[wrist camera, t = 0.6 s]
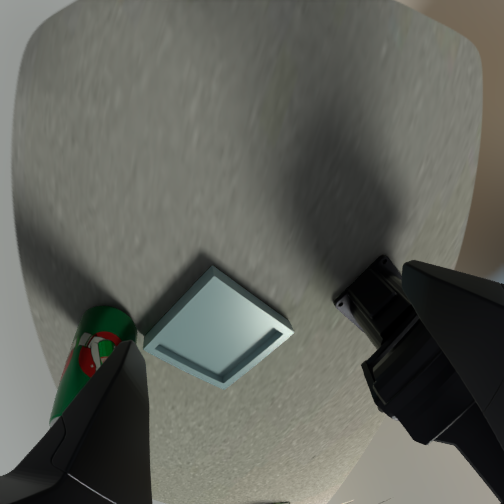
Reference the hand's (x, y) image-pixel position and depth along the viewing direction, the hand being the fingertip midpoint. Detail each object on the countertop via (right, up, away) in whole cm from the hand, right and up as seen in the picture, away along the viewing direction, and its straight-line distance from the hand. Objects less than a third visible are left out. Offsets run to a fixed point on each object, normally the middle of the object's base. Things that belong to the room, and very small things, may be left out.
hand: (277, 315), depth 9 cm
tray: (-4, -5, +16) cm, 17 cm away
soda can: (-13, -4, +14) cm, 20 cm away
